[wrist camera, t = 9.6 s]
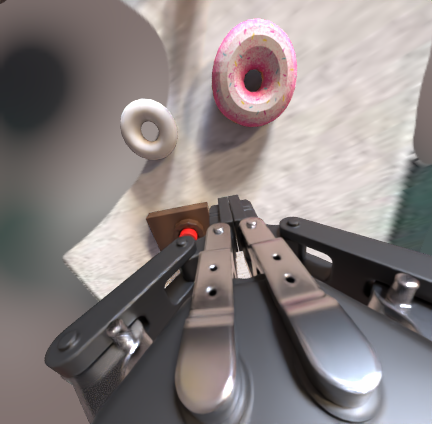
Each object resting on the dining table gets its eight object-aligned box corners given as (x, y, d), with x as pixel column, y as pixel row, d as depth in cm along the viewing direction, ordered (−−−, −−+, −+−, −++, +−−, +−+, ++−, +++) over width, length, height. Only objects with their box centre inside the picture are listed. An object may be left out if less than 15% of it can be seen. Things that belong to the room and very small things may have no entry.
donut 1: (146, 165, 36) (188, 145, 34) (140, 170, 33) (186, 147, 31) (113, 115, 31) (160, 88, 30) (103, 115, 28) (155, 85, 27)
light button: (182, 243, 41) (181, 249, 39) (177, 229, 39) (176, 235, 37) (199, 240, 40) (198, 246, 39) (195, 226, 38) (194, 231, 37)
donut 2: (210, 28, 26) (211, 10, 22) (296, 29, 27) (314, 11, 23) (212, 126, 33) (212, 127, 28) (281, 126, 33) (292, 127, 29)
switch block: (164, 248, 46) (160, 260, 42) (149, 212, 41) (143, 222, 37) (216, 238, 45) (216, 250, 41) (207, 201, 40) (207, 210, 36)
